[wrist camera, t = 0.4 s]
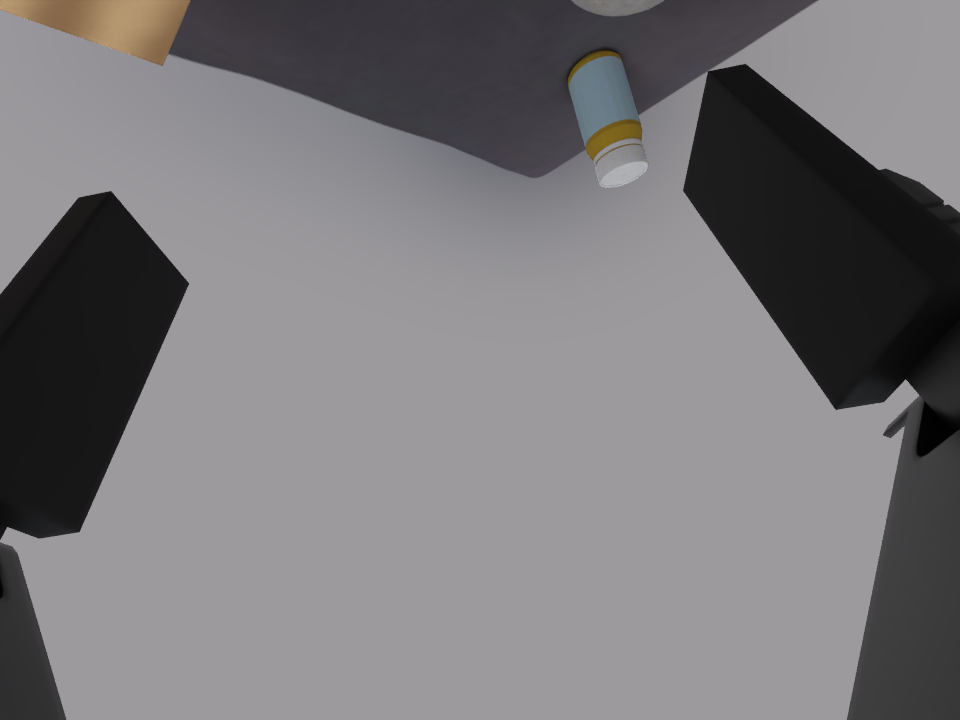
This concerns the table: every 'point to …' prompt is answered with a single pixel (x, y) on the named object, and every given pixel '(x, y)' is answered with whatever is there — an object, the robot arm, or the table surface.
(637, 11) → the webcam
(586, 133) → the bottle
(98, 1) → the oak desk
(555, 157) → the table surface
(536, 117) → the table surface
